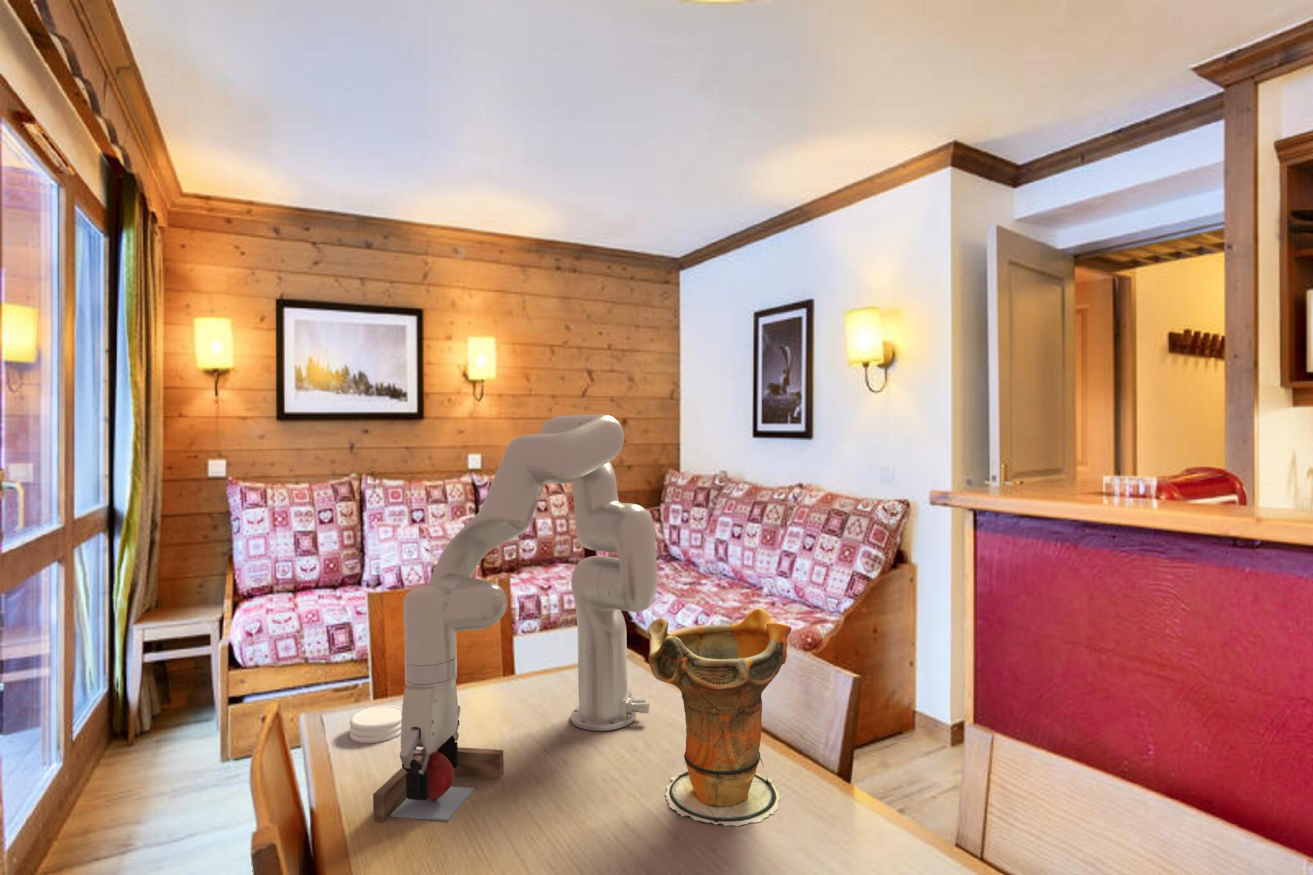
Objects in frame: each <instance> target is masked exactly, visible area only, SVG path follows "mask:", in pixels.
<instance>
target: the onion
mask: <svg viewBox="0 0 1313 875" xmlns="http://www.w3.org/2000/svg"><path fill="white" fill-rule="evenodd" d="M420 763H421V761H420V762H419V764H420ZM425 771H428V780H429V797H428V799H429V800H431V801H435V800H437V799H438V798H440V797H441V796H442V795H443V794H444V793H445V792H446V791H447V790H448V789H449V788H450V787H451V786H452V784H453V782H454V776H453V775H454V770H453V766H452V764H451V763H450V761H449V760H448V759H447V758H446V757H445V756H444V755H443V754H441V753H438V752H437V751H435V752H434V753H432V754H431V755H430V756H429V759H428V763H427V767H426V770H425Z"/></svg>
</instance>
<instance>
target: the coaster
mask: <svg viewBox="0 0 1313 875" xmlns="http://www.w3.org/2000/svg"><path fill="white" fill-rule="evenodd" d="M401 719H402V707H401V706H396V705H379V706H378V705H377V706H373V707H369V708H365V709H363V710H360V711H358V712H356V713H355V714H354V715H353V716H351V718H350V720H349V732H350V733H349V737H350V739H351V740H352V741H354V742H356V743H360V744H376V743H377V744H378V743H381V742H386V741H390V740H393V739H395V738H397V737H399V736H401Z"/></svg>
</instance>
